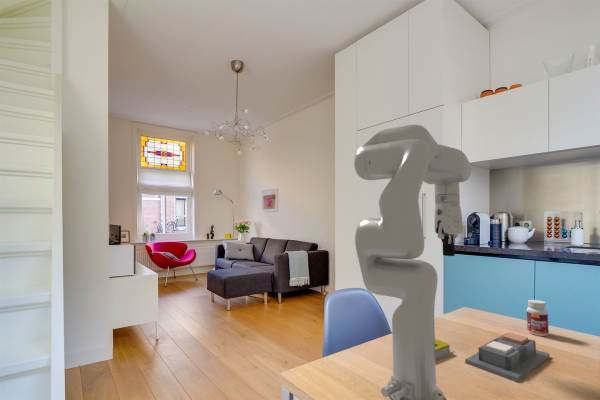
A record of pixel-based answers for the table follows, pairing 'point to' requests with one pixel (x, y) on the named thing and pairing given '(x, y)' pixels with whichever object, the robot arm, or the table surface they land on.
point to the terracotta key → (515, 338)
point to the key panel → (509, 359)
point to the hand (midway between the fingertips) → (448, 255)
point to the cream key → (499, 347)
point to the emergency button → (441, 349)
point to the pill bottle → (537, 318)
